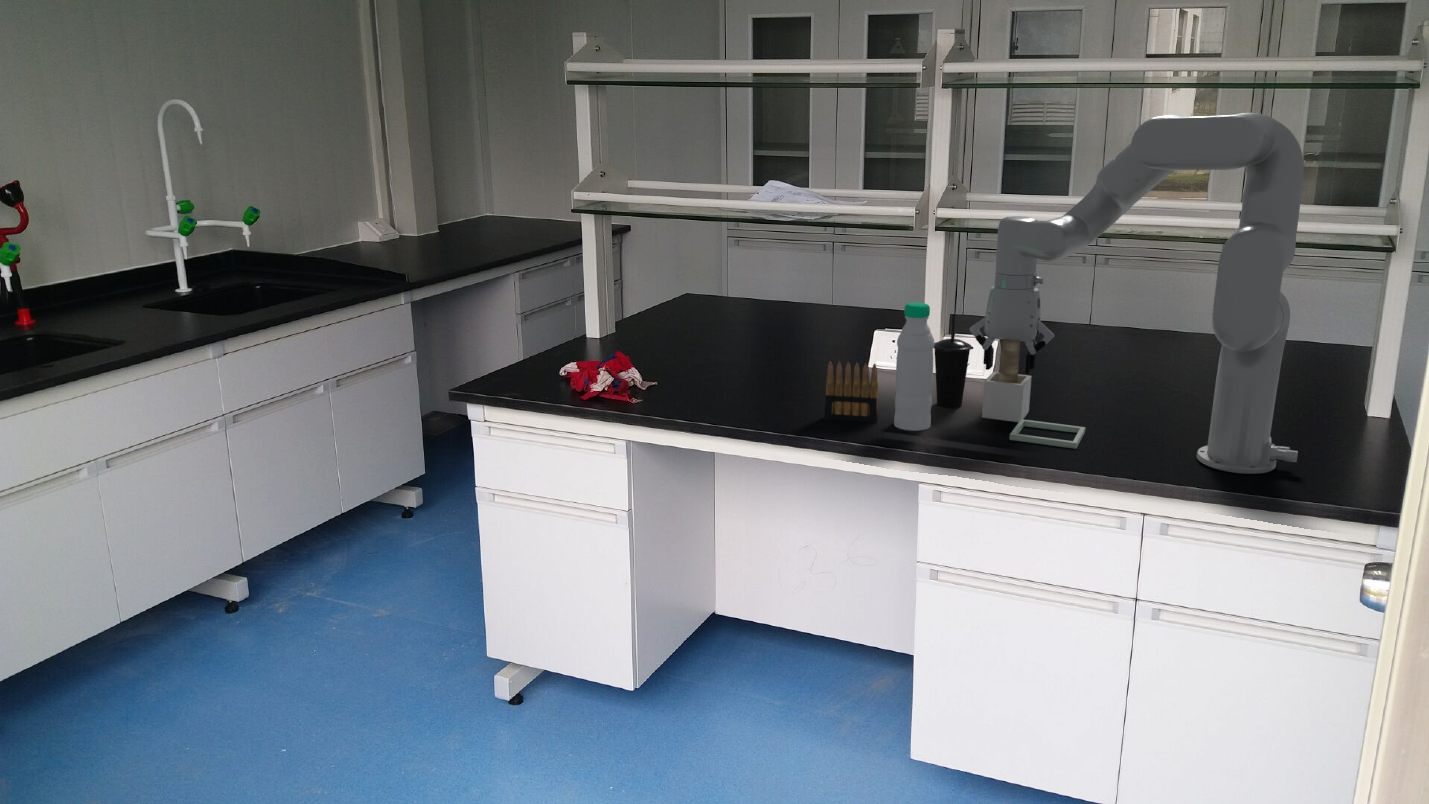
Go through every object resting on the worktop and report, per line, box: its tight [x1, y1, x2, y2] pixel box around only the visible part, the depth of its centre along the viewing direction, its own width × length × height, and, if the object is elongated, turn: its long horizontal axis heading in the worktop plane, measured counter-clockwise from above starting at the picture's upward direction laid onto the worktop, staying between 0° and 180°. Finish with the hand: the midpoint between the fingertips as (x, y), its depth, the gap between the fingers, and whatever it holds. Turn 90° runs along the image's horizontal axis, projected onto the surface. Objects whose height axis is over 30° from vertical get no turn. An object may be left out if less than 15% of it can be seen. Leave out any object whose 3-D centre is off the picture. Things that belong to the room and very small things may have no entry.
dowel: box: [998, 339, 1021, 384], centre depth 208 cm, size 4×4×18 cm
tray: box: [1009, 419, 1086, 449], centre depth 198 cm, size 12×10×2 cm
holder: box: [981, 371, 1032, 423], centre depth 210 cm, size 8×8×8 cm
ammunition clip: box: [823, 360, 879, 424], centre depth 211 cm, size 11×2×12 cm, turn 75°
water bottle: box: [893, 302, 935, 432], centre depth 202 cm, size 7×7×25 cm
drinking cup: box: [933, 313, 973, 409], centre depth 215 cm, size 8×8×20 cm
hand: (1008, 369), depth 208 cm, fingers open, 7 cm apart
